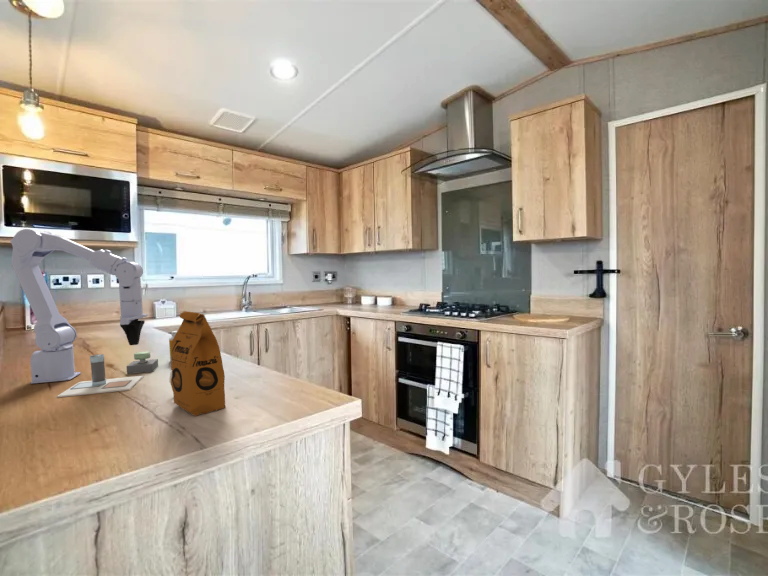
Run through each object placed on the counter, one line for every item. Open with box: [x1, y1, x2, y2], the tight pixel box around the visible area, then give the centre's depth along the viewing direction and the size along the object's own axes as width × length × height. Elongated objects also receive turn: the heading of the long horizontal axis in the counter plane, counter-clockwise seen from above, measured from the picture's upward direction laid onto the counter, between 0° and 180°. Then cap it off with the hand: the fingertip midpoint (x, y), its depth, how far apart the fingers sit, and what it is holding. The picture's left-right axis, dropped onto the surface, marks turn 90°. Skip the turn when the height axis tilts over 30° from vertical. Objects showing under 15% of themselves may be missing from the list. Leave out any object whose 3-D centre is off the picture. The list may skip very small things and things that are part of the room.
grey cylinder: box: [89, 353, 107, 386], centre depth 108 cm, size 3×3×8 cm
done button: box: [133, 351, 151, 363], centre depth 124 cm, size 4×4×4 cm
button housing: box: [126, 358, 159, 375], centre depth 124 cm, size 7×7×2 cm
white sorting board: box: [56, 375, 145, 398], centre depth 108 cm, size 16×13×1 cm
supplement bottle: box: [168, 330, 178, 361], centre depth 137 cm, size 6×6×10 cm
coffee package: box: [170, 310, 226, 417], centre depth 89 cm, size 10×12×22 cm
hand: (134, 344), depth 121 cm, fingers closed
